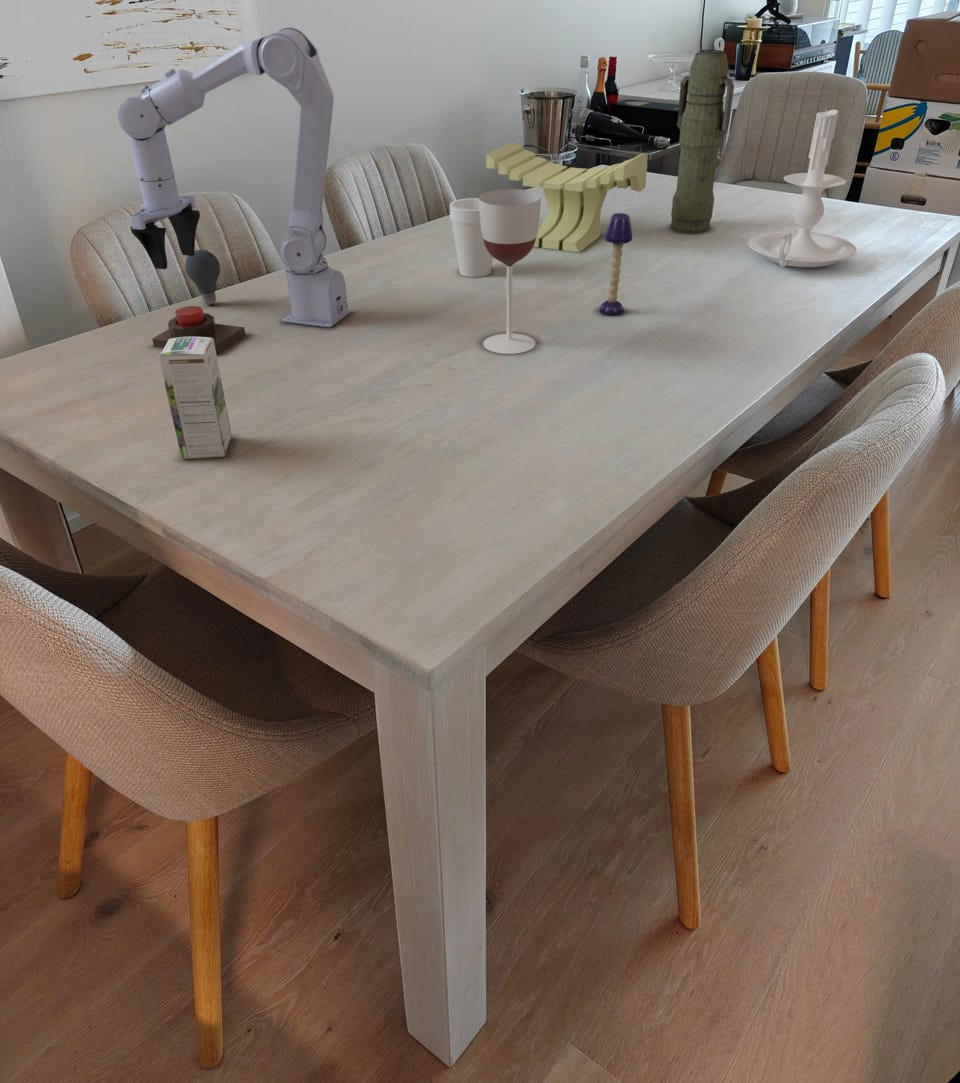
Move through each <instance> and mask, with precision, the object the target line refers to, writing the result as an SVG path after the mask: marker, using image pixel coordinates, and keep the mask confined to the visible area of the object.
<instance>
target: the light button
mask: <svg viewBox="0 0 960 1083" xmlns="http://www.w3.org/2000/svg"><path fill="white" fill-rule="evenodd" d="M204 313H205V312H204V309H203V307H201V306H198V305H187V306H182V307H180V308H178V309H176V310H175V312H174V314H175V317H176V318H177V323H178V325H179V326H195V325H198V324H202V323H204V322H205V318H204Z"/></svg>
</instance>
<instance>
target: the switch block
mask: <svg viewBox="0 0 960 1083" xmlns="http://www.w3.org/2000/svg"><path fill="white" fill-rule="evenodd" d="M203 313H204V318H205V322H204V323H202V324H198V325H195V326H179V325H178V323H177V318H176V316H174V317H172V318H171V319H169V320H168V322H167V326H168V328H167V329H166V330H165V331H163V332H161V333H159V334H158V335H155V336H154V337H153V338H151V339H152V345H153V347H154V348H159V349H164V347H165V346H166V344H167V342H168V340H169V339H172V338H179V337H209V338H213V339H214V345H215V350H216V355H217V356H218V354H220V353H222V352H223V351H225V350H226V349H227V348H229V347H231V346H232V345H234V344H235V343H236V342H238V341H240V340H241V339H243V338H244V337H246V329H245V327H244V326H238V325H230V324H222V323H216V320H215V317H214V315H211V314H210V313H205V312H203Z"/></svg>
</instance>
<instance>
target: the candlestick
mask: <svg viewBox="0 0 960 1083" xmlns="http://www.w3.org/2000/svg"><path fill="white" fill-rule="evenodd" d="M824 109H825V111H819V112H816V117H815V121H814V126H813V132H812V136H811V142H810V147H809V148H810V149H809V154H808V156H807V158H808V159H809V164H808V169H807V172H798V173H791V174H788V175H787V174H786V175H785V176H784V177H783V180H784V182H786V183H788V184H791V185H794V186H797V187H799V188H800V189H801V190H802V194H801V197H799V199H798V200H797V202H796V203H795V205H794V207H793V210H792V217H793V220H794V222H795V224H796V225H797V227H799V228H798V230H778V231H777V230H776V231H769V232H763V233H760V234H759V233H758V234H757V235H754V236H752V237H751V238H750V239H749V240H748V246H749V247H750V249H752V250H753V251H755V252H757V253H758V254H759V255H761V257H763V258H765V259H767V260H768V261H771V262H773V263H776V264H778V265H779V267H782V268H785V267H786V266H788V267H795V268H820V267H821V268H822V267H825V266H829V265H833V264H836V263H838V262H841V261H842V260H845V259H849V258H851V257H853V256H854V255H855V254H856V253H857V250H858V249H857V246H855V244H853V243H852V242H851V241H848V240H847V239H844V238H841V237H839V236H834V235H830V234H827V233H821V232H816V231H815V232H814V231H812V229H813V228H814V227H815V226H816V225H818V223H820V221H821V220H822V218H823V217H824V214H825V206H824V202H823V199H822V193H823V191H824V190H826V189H829V188H835V187H839V186H843V185H845V184H846V183H847V180H846V179H845V178H843V177H841V176H837V175H835V174H827V173H825V170H826V167H827V166H826V165H828V164H829V156H830V152H831V147H832V142H833V139H835V133H836V132H835V131H836V126H837V122H838V116H839V110H837V109H835V108H834V109H830V110H827V108H824Z"/></svg>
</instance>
